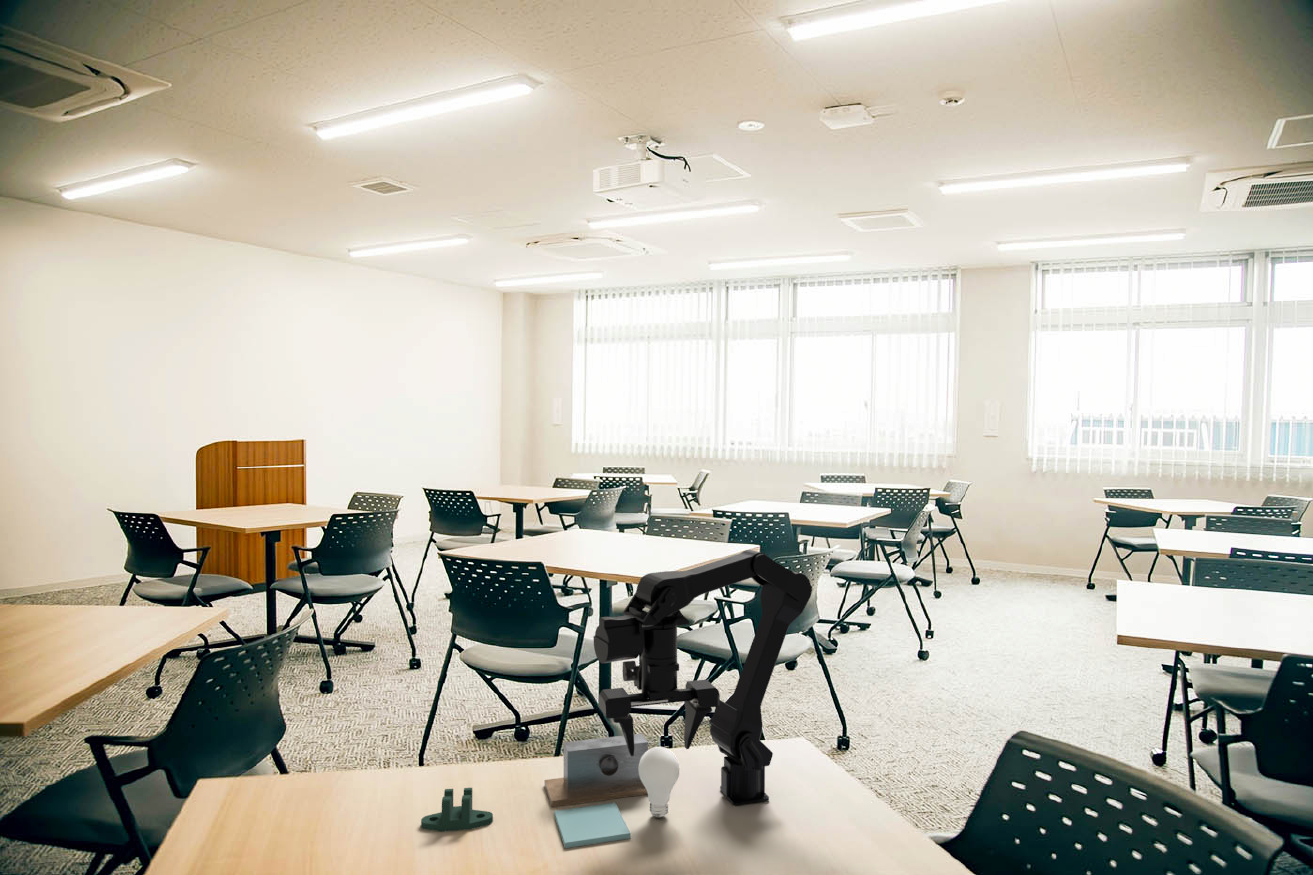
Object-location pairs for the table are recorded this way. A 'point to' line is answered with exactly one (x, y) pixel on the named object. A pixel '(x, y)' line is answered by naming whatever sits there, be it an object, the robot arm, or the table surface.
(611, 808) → the pad
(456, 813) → the mount
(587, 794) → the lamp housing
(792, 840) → the table surface
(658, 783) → the light bulb
